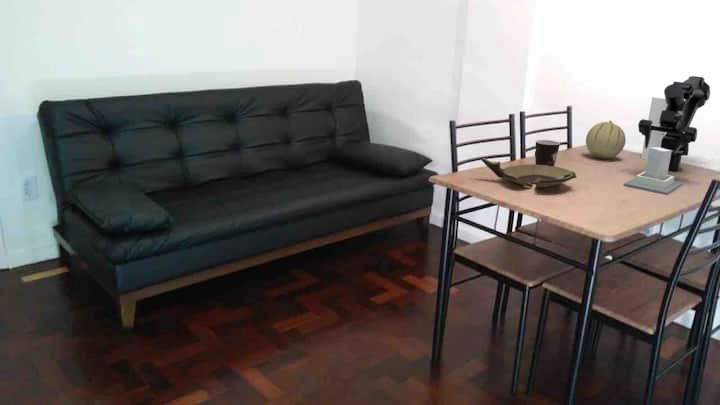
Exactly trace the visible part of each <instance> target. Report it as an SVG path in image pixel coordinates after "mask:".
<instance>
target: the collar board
mask: <svg viewBox="0 0 720 405" xmlns="http://www.w3.org/2000/svg"><path fill="white" fill-rule="evenodd" d="M644 174H645V170H644V171H642V172H640V173H639V174H637V175H636V177H634V178H632V179H630V180H628V181H626V182H624V183H623V186H624V187H628V188H633V189H638V190H642V191H648V192H651V193H656V194H661V195H667V196H668V195H669V194H671V193H672V192H674V191H676V190H677V189H679V188H680V187H681V186H683V185H684V182H683V181H679V180H678V181H677V180H675V176H674V175H669V174H667V178H666V180H659V179H654V178H649V177H644Z"/></svg>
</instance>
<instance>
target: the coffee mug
mask: <svg viewBox="0 0 720 405" xmlns="http://www.w3.org/2000/svg"><path fill="white" fill-rule="evenodd" d="M560 145H561V143H560V142H559V141H555V140H549V139H537V140H535V151H534V158H535V164H534V165H549V166H556V160H557V156H558V154H559V150H560V149H559V148H560Z"/></svg>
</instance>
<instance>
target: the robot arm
mask: <svg viewBox="0 0 720 405" xmlns="http://www.w3.org/2000/svg"><path fill="white" fill-rule="evenodd" d="M663 93H664V97H665V99H666V103H667V104H668V105H667V107H666V110H665V111H664V110H662V112H661V116H660V121H659V124H660V126H658V125H652V121H651V120H648V119H645V118H643V119H640V120H639V122H638V132H639V133H640V134H641V135H642V136H644V139H645V149H647V147H648V144H649V141H650V137H651V131H652V130H654V131H660V132H666V133H665V136H663V138H662V141H661V148H664V149H667V150H671V151H672V152H671V158H670V163H669V168H668V171H672V172H678V171H681V170H682V169H683V167H680V165H681V161H682V157H684V156H685V157H686V156H688V155H689V150H690V148H689V144H691V142H692V143H695V142H696V140H697V138H698V137H697V136H698V129H697V127H693V126H690V125H691V123H692V121H693V119H694V117H695V115H696V113H697V111H698V109H699V108H702V107H704V106H705V104H706V102H707V101H709V99H710V97H711V96H710V95H711V87H710V84H708V83H707V82H706V81H705V78H704V77H702V76H695V75H691V76H689V77H688V78H687V79H686V80H684V81H673V83H672V84H669V85H667V86H666V87H665V88H664V91H663Z"/></svg>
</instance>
